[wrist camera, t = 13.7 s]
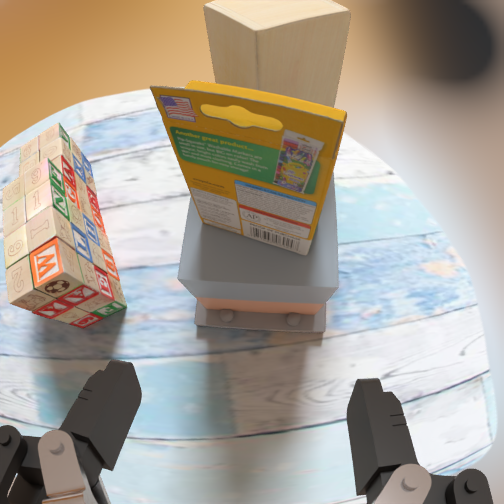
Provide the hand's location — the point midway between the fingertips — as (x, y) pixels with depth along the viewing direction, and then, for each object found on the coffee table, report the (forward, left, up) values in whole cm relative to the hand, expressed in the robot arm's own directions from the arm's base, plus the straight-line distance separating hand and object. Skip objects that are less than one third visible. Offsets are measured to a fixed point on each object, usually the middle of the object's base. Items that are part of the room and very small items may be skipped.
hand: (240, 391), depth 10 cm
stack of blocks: (-21, +13, -19) cm, 31 cm away
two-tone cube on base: (0, +10, -18) cm, 21 cm away
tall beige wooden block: (0, +22, -19) cm, 29 cm away
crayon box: (0, +10, -7) cm, 13 cm away
